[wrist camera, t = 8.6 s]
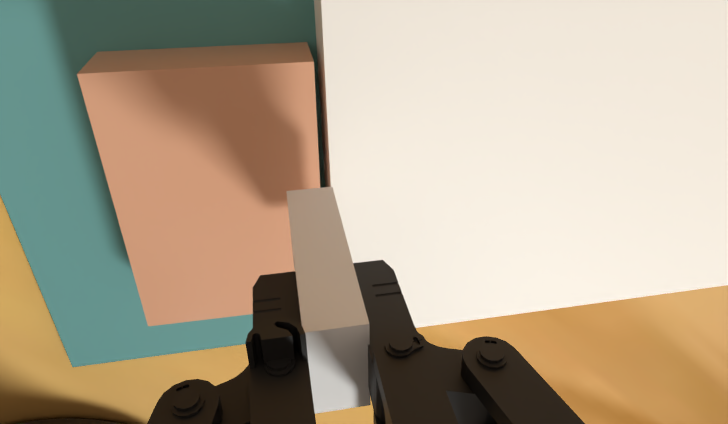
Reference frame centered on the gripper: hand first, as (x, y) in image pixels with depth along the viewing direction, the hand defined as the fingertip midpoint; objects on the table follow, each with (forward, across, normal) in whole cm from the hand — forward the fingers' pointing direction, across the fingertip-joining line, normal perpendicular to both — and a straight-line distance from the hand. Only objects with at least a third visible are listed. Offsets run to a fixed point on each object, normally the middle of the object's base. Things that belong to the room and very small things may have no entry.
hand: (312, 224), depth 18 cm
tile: (+4, +3, 0) cm, 5 cm away
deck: (+5, -11, 0) cm, 12 cm away
